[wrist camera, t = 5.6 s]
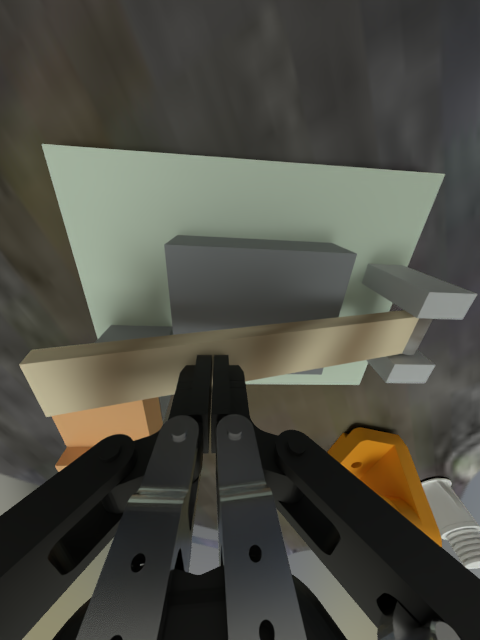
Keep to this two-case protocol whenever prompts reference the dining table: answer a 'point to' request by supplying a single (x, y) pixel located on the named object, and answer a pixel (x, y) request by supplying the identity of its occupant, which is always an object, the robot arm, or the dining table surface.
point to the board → (226, 206)
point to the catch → (106, 426)
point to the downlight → (454, 521)
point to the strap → (239, 343)
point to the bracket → (387, 474)
